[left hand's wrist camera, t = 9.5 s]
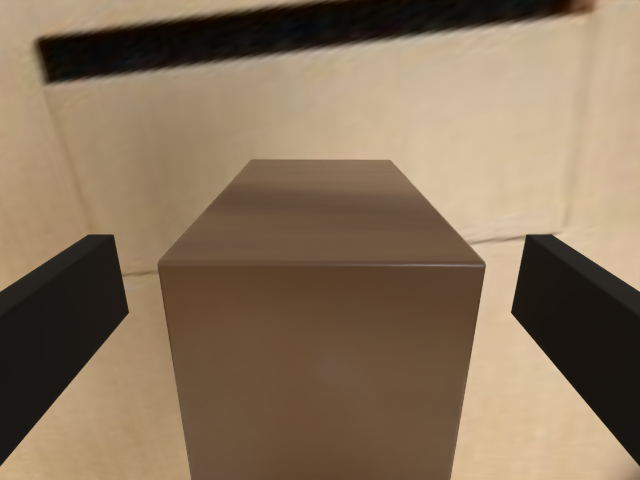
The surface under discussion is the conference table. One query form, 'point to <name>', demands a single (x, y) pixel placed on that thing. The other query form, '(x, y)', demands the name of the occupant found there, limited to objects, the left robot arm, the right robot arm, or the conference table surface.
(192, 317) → the bar
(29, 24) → the conference table surface
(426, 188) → the conference table surface
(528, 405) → the conference table surface
